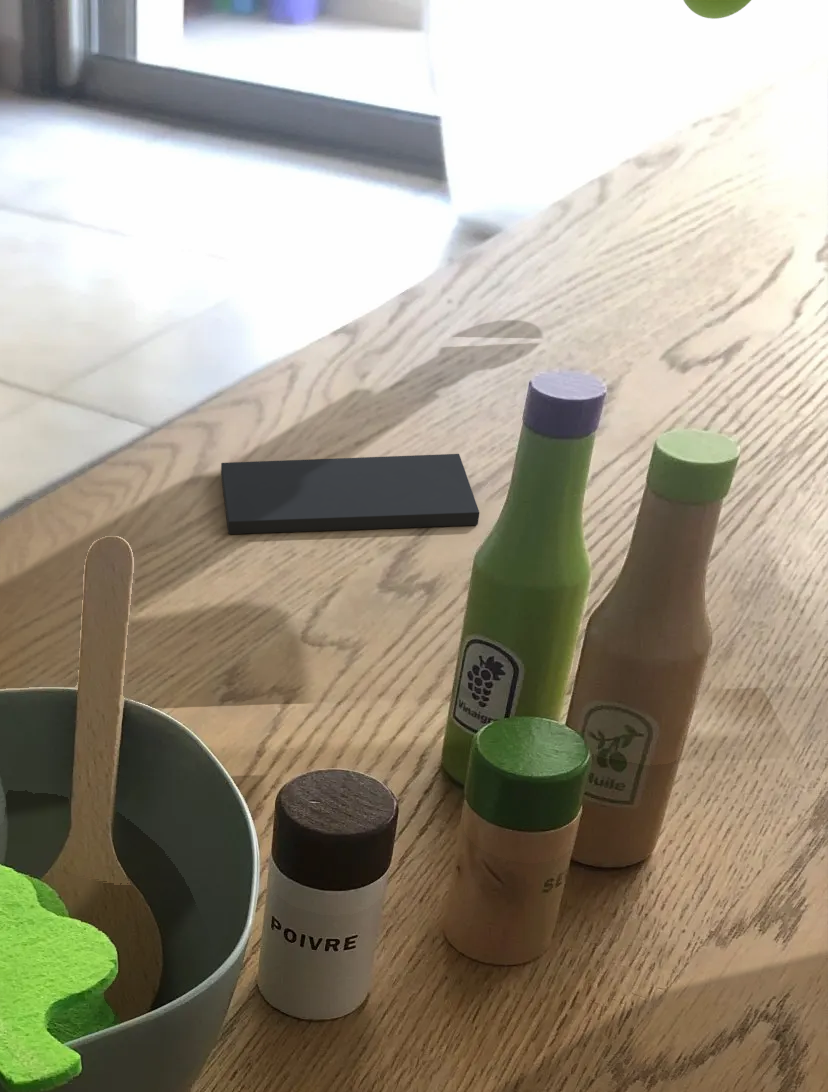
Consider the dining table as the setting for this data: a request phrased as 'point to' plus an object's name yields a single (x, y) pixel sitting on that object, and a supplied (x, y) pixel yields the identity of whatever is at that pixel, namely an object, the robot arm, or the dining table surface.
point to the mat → (347, 494)
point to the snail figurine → (716, 7)
